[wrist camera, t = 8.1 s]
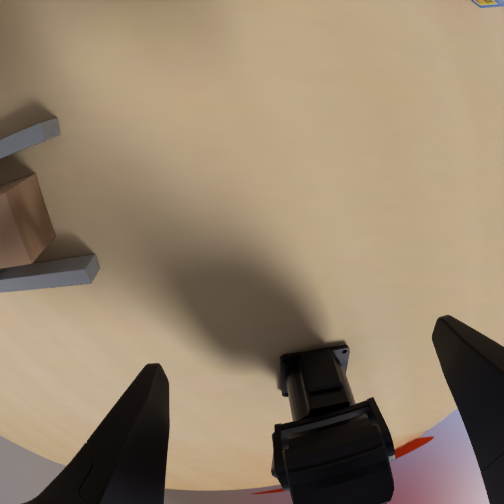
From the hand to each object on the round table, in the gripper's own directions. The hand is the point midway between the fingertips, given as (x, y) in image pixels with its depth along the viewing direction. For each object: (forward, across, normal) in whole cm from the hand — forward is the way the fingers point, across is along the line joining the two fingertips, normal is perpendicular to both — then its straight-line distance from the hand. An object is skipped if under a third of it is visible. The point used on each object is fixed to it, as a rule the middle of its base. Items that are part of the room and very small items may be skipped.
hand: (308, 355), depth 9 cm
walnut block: (+13, +18, -3) cm, 22 cm away
